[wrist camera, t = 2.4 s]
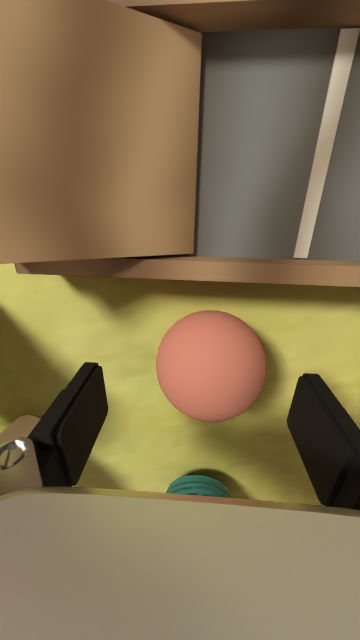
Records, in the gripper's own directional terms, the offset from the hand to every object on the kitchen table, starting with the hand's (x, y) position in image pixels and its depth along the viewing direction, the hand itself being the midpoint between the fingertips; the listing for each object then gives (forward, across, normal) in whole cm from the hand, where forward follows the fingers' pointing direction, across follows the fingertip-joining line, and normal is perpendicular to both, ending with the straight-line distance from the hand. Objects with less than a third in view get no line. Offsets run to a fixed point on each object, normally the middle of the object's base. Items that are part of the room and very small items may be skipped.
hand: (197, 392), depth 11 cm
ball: (+6, -1, 0) cm, 6 cm away
